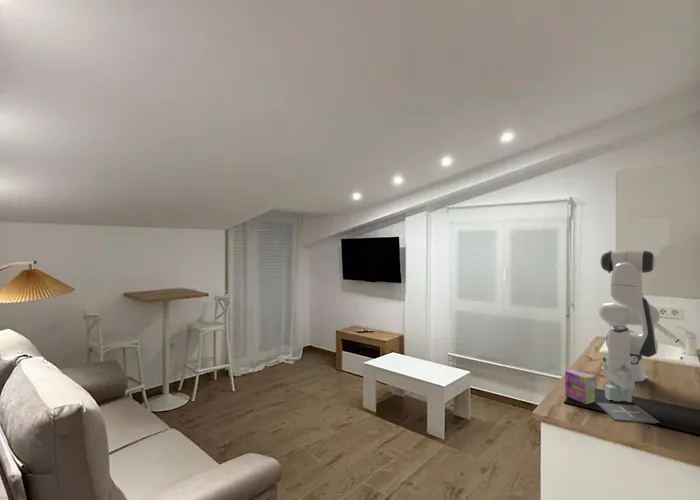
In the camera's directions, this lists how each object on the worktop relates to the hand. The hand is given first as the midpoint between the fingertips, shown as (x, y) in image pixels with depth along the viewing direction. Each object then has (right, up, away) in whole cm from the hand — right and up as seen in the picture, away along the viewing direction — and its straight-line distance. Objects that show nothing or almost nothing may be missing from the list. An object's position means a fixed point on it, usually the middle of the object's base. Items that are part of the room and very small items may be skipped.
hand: (618, 393), depth 173 cm
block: (0, -3, 0) cm, 3 cm away
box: (-17, -3, +1) cm, 17 cm away
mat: (-6, -3, -14) cm, 16 cm away
